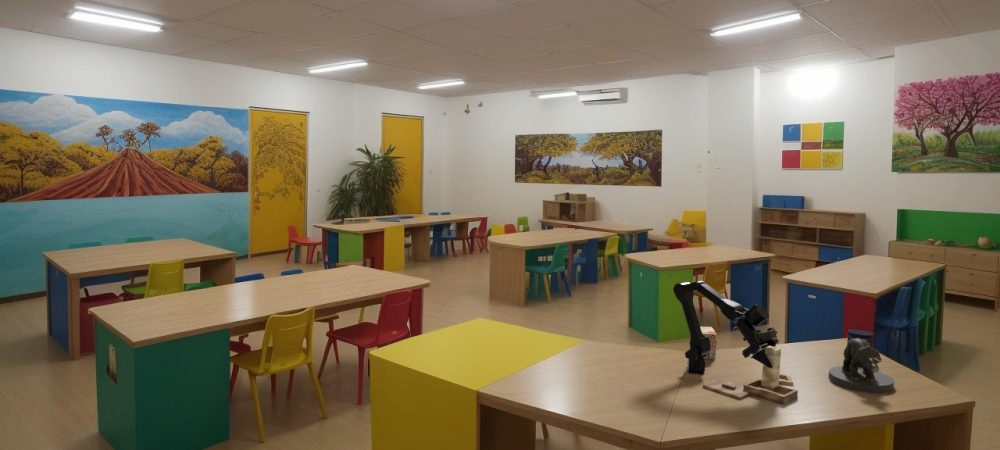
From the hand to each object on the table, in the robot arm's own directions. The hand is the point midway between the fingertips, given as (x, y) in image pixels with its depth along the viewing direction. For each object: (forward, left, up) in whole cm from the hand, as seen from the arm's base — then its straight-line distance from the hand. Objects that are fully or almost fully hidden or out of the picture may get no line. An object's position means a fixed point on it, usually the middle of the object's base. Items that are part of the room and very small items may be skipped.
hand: (774, 366), depth 229 cm
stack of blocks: (-18, +52, -12) cm, 56 cm away
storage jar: (+48, +48, -12) cm, 69 cm away
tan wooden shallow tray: (-1, +1, -12) cm, 12 cm away
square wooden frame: (+7, +19, -12) cm, 23 cm away
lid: (-16, +3, -12) cm, 20 cm away
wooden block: (-1, +1, -8) cm, 8 cm away
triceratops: (+40, +24, -12) cm, 48 cm away
